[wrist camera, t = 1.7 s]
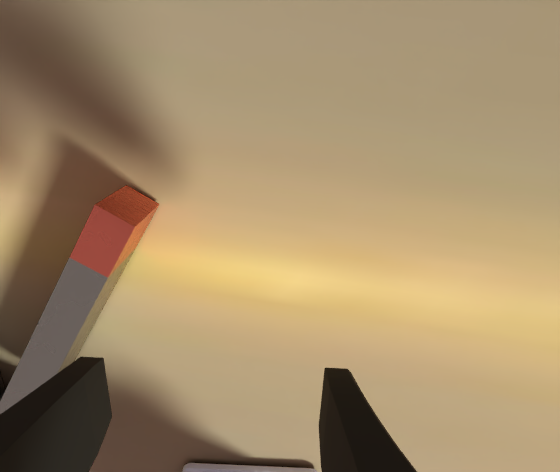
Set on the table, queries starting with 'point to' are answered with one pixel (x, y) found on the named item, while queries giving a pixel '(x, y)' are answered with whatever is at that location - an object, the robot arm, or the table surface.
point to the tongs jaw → (82, 289)
